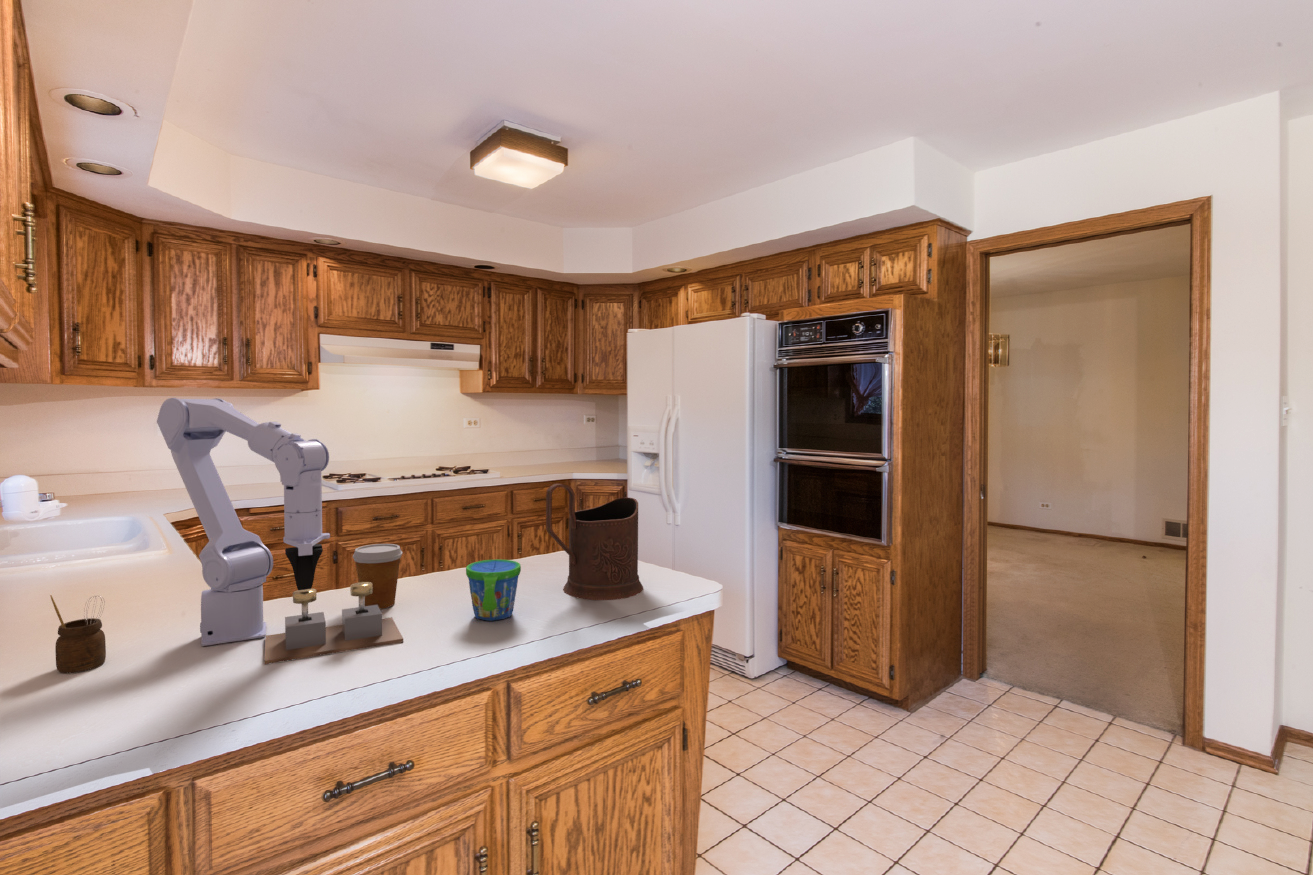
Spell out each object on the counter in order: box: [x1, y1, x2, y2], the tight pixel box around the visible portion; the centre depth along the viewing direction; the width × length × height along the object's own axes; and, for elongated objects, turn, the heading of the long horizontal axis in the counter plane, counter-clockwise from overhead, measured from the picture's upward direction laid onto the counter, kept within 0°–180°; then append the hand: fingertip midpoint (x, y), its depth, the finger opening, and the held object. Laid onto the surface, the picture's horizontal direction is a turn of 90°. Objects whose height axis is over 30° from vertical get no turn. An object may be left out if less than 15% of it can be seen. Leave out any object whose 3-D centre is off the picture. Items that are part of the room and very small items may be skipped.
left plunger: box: [292, 588, 317, 621], centre depth 113 cm, size 4×4×6 cm
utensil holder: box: [49, 595, 107, 674], centre depth 103 cm, size 6×6×12 cm
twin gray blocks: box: [284, 605, 383, 650], centre depth 115 cm, size 15×6×4 cm, turn 120°
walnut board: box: [264, 617, 404, 665], centre depth 116 cm, size 21×13×1 cm, turn 120°
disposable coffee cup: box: [352, 543, 403, 610], centre depth 136 cm, size 10×10×12 cm
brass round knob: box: [349, 582, 372, 614], centre depth 118 cm, size 4×4×6 cm
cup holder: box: [545, 483, 644, 601], centre depth 148 cm, size 18×24×25 cm
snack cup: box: [465, 559, 522, 622], centre depth 130 cm, size 16×10×10 cm
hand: (304, 588), depth 113 cm, fingers closed
